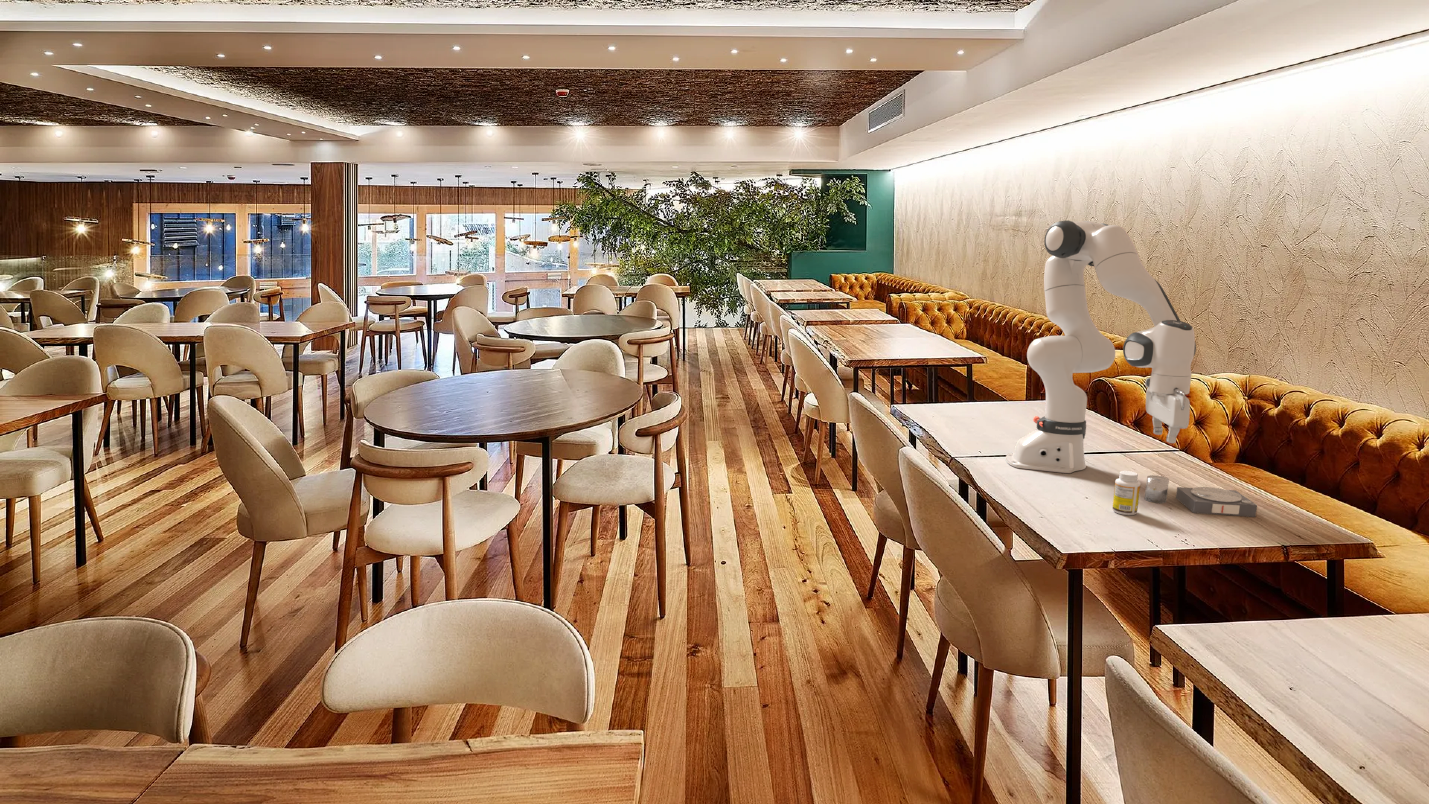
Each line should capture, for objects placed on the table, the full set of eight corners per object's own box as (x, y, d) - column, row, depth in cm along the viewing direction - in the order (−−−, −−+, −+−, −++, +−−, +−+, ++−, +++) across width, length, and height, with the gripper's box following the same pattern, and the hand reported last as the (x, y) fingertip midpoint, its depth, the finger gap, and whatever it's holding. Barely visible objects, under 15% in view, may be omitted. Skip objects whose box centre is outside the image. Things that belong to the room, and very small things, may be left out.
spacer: (1148, 502, 210) (1150, 480, 209) (1141, 496, 215) (1144, 474, 213) (1169, 503, 209) (1171, 481, 208) (1162, 497, 214) (1165, 476, 212)
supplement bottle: (1126, 508, 205) (1131, 469, 203) (1141, 515, 200) (1146, 475, 198) (1107, 509, 204) (1111, 470, 202) (1121, 516, 199) (1126, 476, 197)
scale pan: (1201, 501, 202) (1201, 498, 201) (1184, 487, 212) (1184, 485, 212) (1249, 504, 200) (1249, 501, 200) (1230, 490, 210) (1230, 488, 210)
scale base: (1194, 513, 201) (1196, 501, 201) (1175, 497, 214) (1177, 485, 213) (1256, 517, 199) (1258, 504, 198) (1234, 501, 211) (1235, 489, 210)
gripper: (1199, 392, 195) (1193, 448, 197) (1169, 379, 215) (1163, 430, 217) (1171, 391, 196) (1165, 447, 199) (1143, 378, 216) (1137, 429, 218)
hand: (1163, 438), depth 208 cm, fingers open, 8 cm apart
